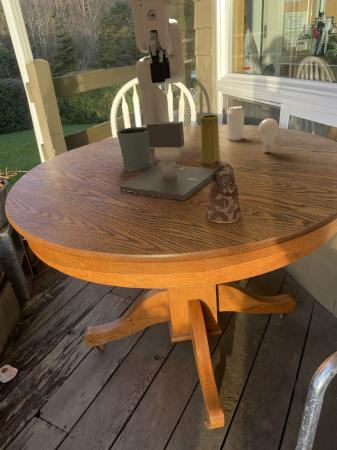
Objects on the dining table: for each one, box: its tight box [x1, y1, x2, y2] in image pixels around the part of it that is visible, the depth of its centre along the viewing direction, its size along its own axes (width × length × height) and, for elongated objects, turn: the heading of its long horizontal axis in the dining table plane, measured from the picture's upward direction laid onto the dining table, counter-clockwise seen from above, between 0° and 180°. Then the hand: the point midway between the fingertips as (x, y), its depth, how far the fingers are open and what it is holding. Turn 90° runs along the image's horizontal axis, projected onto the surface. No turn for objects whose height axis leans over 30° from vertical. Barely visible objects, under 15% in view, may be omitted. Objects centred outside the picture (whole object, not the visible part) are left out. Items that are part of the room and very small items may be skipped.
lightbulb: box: [257, 117, 280, 154], centre depth 104 cm, size 6×6×11 cm
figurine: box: [205, 160, 241, 222], centre depth 66 cm, size 7×7×12 cm
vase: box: [200, 114, 221, 166], centre depth 100 cm, size 6×6×14 cm
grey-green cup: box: [116, 126, 151, 172], centre depth 103 cm, size 10×10×12 cm
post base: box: [119, 159, 215, 202], centre depth 89 cm, size 20×20×7 cm
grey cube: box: [147, 121, 185, 162], centre depth 85 cm, size 9×9×9 cm
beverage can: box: [226, 105, 245, 142], centre depth 123 cm, size 6×6×12 cm
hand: (161, 80), depth 79 cm, fingers open, 9 cm apart
